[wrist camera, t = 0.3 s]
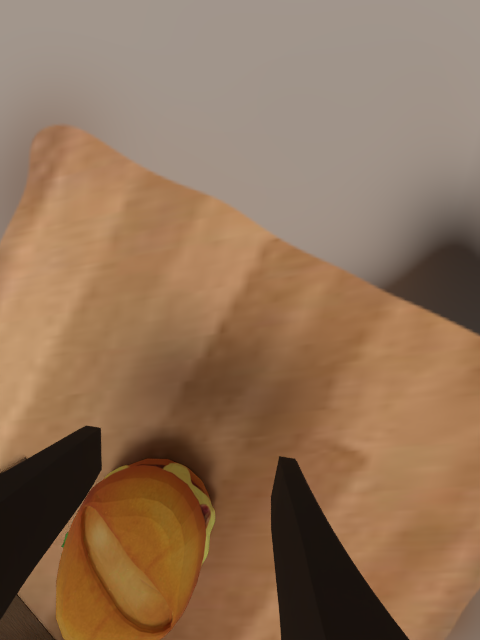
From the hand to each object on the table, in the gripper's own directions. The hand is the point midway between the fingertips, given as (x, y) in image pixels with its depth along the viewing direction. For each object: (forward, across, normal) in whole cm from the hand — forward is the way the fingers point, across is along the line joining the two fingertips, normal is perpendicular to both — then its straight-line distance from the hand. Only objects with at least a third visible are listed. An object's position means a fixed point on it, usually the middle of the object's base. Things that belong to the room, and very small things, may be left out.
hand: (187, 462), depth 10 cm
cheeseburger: (+9, +4, +13) cm, 16 cm away
